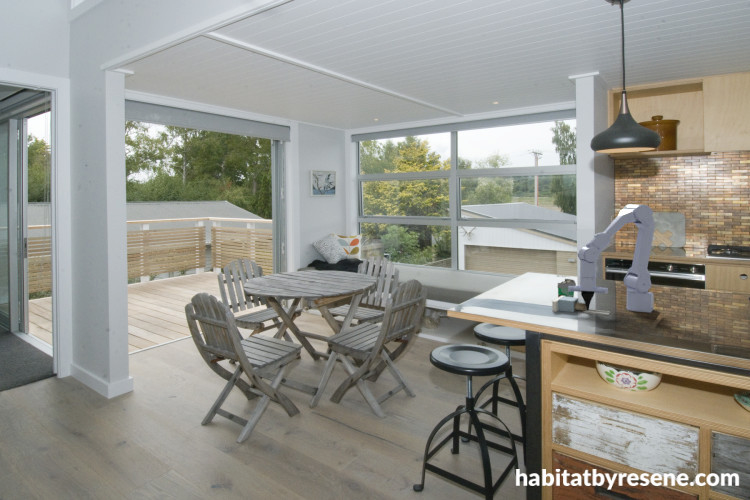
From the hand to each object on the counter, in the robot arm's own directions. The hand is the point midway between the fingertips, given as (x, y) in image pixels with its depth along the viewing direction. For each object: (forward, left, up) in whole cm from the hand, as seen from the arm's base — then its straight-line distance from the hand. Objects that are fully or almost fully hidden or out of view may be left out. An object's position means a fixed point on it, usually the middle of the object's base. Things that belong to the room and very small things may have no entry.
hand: (587, 309), depth 190 cm
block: (+8, 0, -2) cm, 8 cm away
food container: (+13, -17, -2) cm, 21 cm away
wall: (+11, 0, -2) cm, 12 cm away
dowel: (+5, 0, -1) cm, 5 cm away
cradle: (-3, 0, -2) cm, 4 cm away
